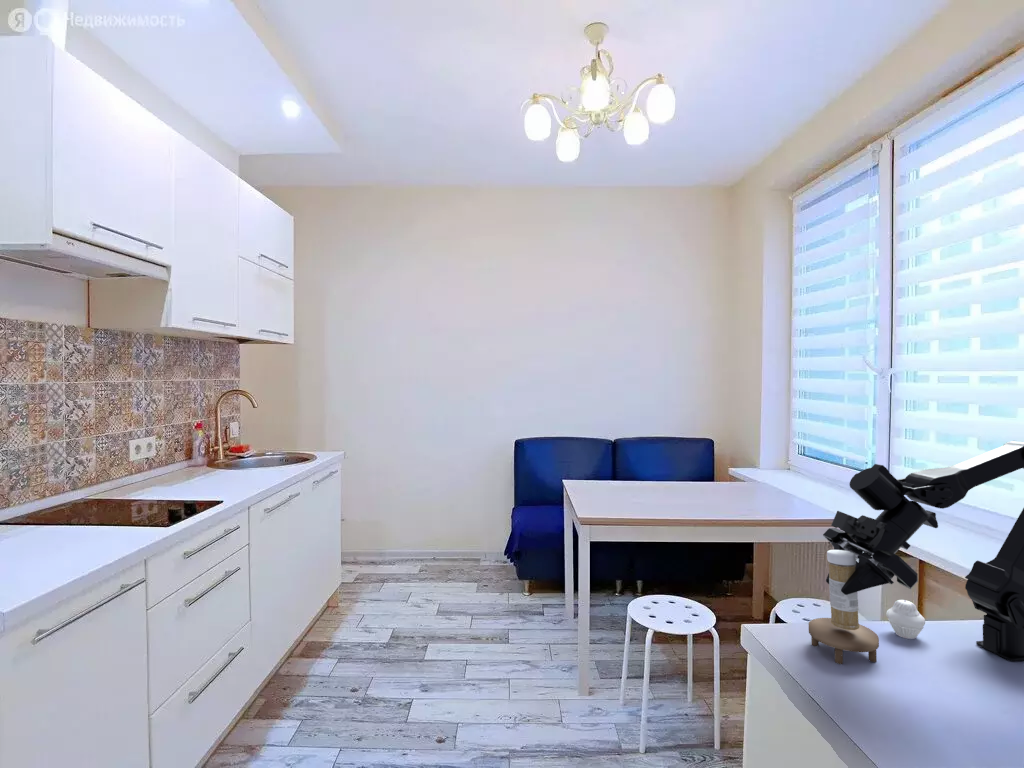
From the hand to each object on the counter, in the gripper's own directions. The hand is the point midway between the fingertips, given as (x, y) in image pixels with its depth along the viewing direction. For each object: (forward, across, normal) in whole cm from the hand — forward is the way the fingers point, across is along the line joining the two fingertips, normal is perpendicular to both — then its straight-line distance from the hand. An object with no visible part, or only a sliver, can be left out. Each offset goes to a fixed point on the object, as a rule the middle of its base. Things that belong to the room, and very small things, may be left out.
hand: (835, 588), depth 96 cm
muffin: (-4, -7, +21) cm, 22 cm away
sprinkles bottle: (+4, 0, +6) cm, 7 cm away
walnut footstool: (+8, 0, +9) cm, 12 cm away
